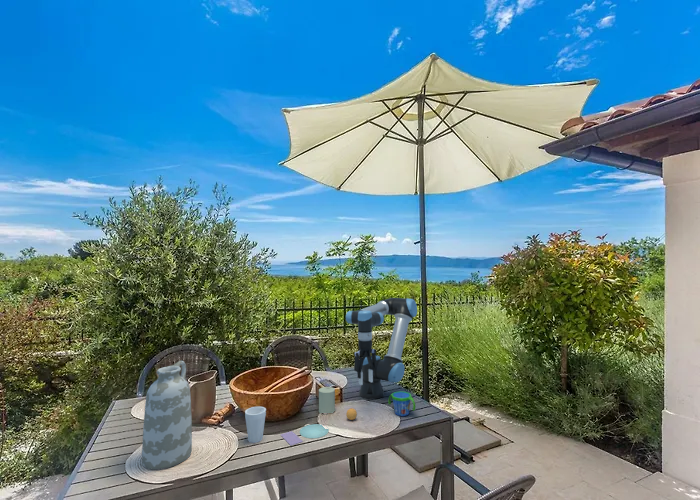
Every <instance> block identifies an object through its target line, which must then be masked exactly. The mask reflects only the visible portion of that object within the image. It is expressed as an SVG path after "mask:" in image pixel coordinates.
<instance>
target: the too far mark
mask: <svg viewBox="0 0 700 500" xmlns="http://www.w3.org/2000/svg"><path fill="white" fill-rule="evenodd" d="M280 436H281V437H282V438H283V439H284V440H285V442H287V444H288V445H289V446H294V445H297V444H300V443H303V442H304V441H303V439H301V438H300V437H299V436H298V435H297V434H296V433H294V432H293V430H291V431H287V432H284V433H281V434H280Z"/></svg>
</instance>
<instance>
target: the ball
mask: <svg viewBox="0 0 700 500" xmlns="http://www.w3.org/2000/svg"><path fill="white" fill-rule="evenodd" d="M357 416H358V413H357V410H356V409H355V408H349V409H347V411H346V418H347V419H348V420H351V421H353V420H355V419H356V418H357Z"/></svg>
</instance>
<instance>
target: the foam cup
mask: <svg viewBox="0 0 700 500" xmlns="http://www.w3.org/2000/svg"><path fill="white" fill-rule="evenodd" d="M266 411H267V408H266V407H264V406H252V407H249V408H247V409H245V410H244V412H245V413H244V418H245V424H246V425H245V426H246V431H247V440H248V442H249V443H259V442H261V441H262V440H263V436H264V430H265V429H264V428H265V421H266V415H267V412H266Z"/></svg>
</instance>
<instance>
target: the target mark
mask: <svg viewBox="0 0 700 500" xmlns="http://www.w3.org/2000/svg"><path fill="white" fill-rule="evenodd" d="M322 425H323V424H320V423H318V424H317V423H313V424H309V425H305V426H303V427H302V428H300V430H299V434H300V436H302V437H304V438H306V439H319V438H322V437H325V436H327V435H328V433H329V428H328V429H325V428H324V427H323V426H322Z"/></svg>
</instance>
